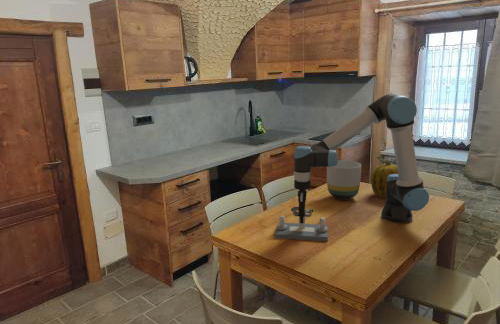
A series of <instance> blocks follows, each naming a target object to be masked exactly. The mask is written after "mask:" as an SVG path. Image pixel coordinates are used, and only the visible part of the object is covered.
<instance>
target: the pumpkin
mask: <svg viewBox="0 0 500 324" xmlns="http://www.w3.org/2000/svg"><path fill="white" fill-rule="evenodd" d="M381 157H382V156H381V155H379V154H378V155H377V157H376V159H377V160H379V161H380V162H382V164H378V165H377V166H375V168H374V169H373V170H372V172H371V176H370V185H371V189H372V191H373V193H374V194H375V195H376V196H377V197H380V198H384V199H386V184H387V182H386V181H387V177H388V175H391V174H398V170H397V164H392V163H390V161H388V160H387V159H385V158H381Z"/></svg>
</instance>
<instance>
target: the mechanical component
mask: <svg viewBox="0 0 500 324" xmlns="http://www.w3.org/2000/svg"><path fill="white" fill-rule="evenodd" d="M290 209H291V210H290V211H291V212H292V214H293V216H294V217H298V216H297V215H299V206H292V207H291V208H290ZM312 213H314V208H310V209H308V210H307V209H305V213H304V215H305V218H310V217H311V216H312Z"/></svg>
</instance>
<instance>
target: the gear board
mask: <svg viewBox="0 0 500 324" xmlns="http://www.w3.org/2000/svg"><path fill="white" fill-rule="evenodd" d="M285 219H286V218H285V216H284V215H280V216H279V222H278V224H277V225H276V230H275V232H274V238H275V239H283V240H284V239H286V240H299V241H300V240H301V241H315V242H316V241H319V242H328V241H329V240H328V239H329V235H328V231H329V229H328V228H329V227H328V224H326V218H325V217H320V218H319V224H316V223H305V229H299V222H297V223H295V222H285Z"/></svg>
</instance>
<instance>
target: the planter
mask: <svg viewBox="0 0 500 324" xmlns="http://www.w3.org/2000/svg"><path fill="white" fill-rule="evenodd" d="M361 175H362V164H361V162H357V161H354V160H348V159H347V160H346V159H340V160H339V159H338V162H337V165H336V166H331V167H326V185H327V190H328V193H329V194H330V196H332V197H333V198H335V200H339V201H348V200H351V199H353V198H355V197H356V196H357V195H358V194H359V193H358V192H359V190H360V188H361V187H360V186H361V178H362V176H361Z"/></svg>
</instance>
